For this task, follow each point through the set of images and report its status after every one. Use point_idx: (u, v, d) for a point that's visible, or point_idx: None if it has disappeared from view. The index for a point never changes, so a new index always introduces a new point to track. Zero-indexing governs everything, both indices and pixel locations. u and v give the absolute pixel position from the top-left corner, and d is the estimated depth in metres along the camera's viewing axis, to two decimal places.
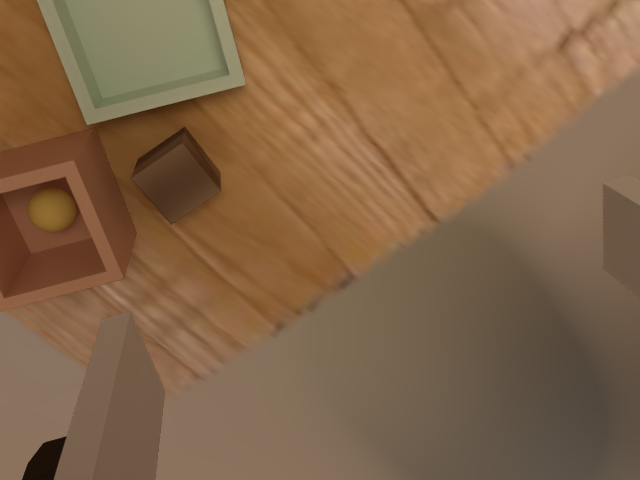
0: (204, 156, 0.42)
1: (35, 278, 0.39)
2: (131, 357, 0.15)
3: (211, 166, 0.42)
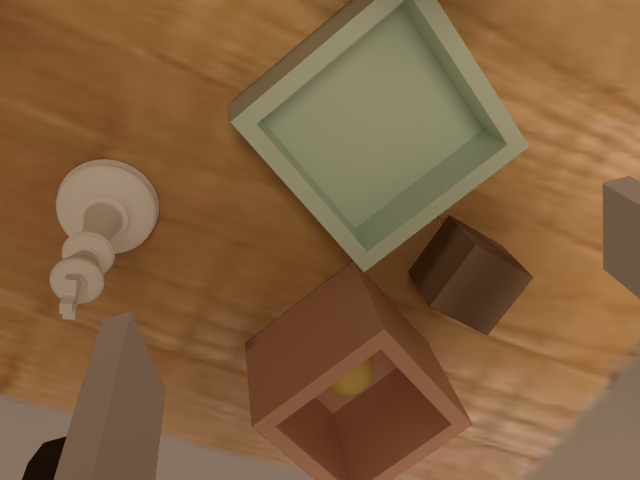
0: (486, 239, 0.34)
1: (367, 452, 0.34)
2: (131, 357, 0.15)
3: (497, 247, 0.34)
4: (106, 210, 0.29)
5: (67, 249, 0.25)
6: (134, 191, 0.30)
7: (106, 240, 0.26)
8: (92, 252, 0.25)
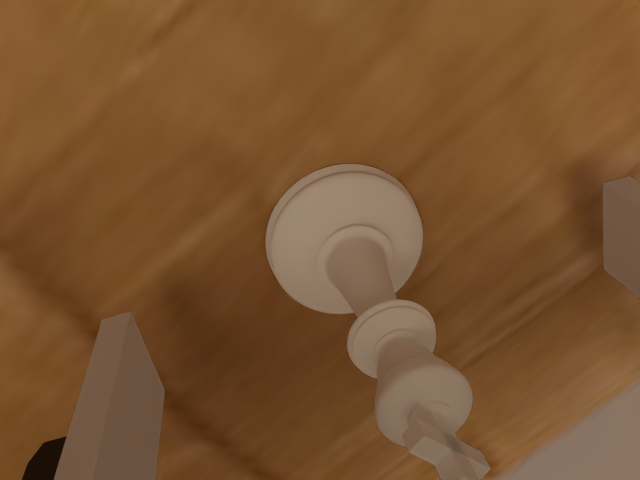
0: None
1: None
2: (131, 357, 0.15)
3: None
4: (344, 257, 0.17)
5: (365, 365, 0.14)
6: (341, 196, 0.18)
7: (386, 303, 0.14)
8: (392, 339, 0.14)
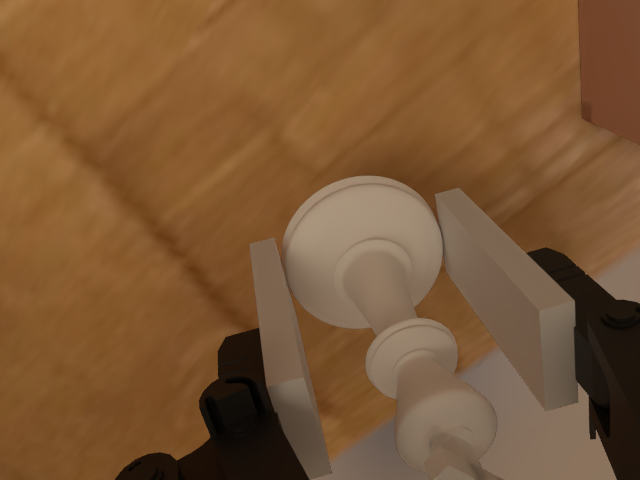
0: None
1: None
2: (283, 273, 0.17)
3: None
4: (362, 271, 0.16)
5: (384, 385, 0.14)
6: (359, 209, 0.17)
7: (407, 322, 0.13)
8: (412, 359, 0.13)
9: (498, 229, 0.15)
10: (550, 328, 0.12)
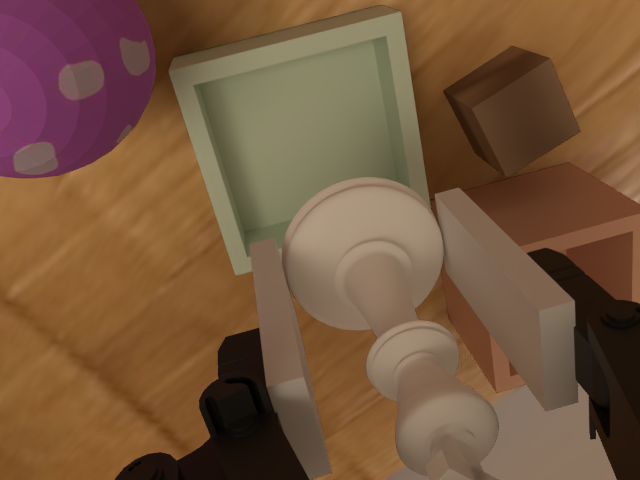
0: (488, 69, 0.30)
1: None
2: (283, 273, 0.17)
3: (504, 61, 0.30)
4: (363, 273, 0.16)
5: (385, 388, 0.14)
6: (360, 210, 0.17)
7: (408, 324, 0.13)
8: (413, 362, 0.13)
9: (498, 229, 0.15)
10: (550, 328, 0.12)
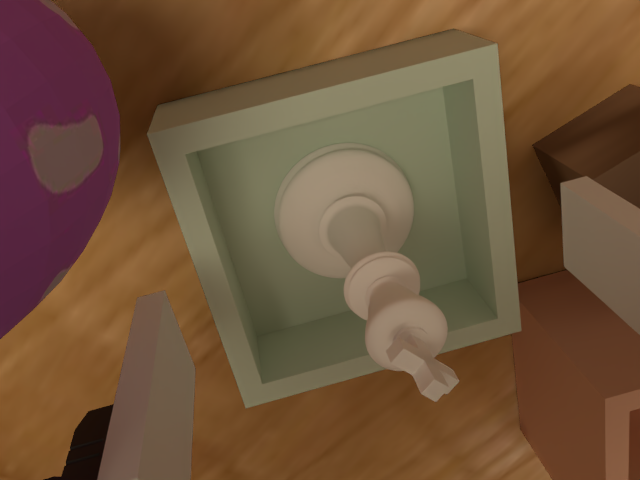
0: (601, 118, 0.21)
1: None
2: (167, 333, 0.15)
3: (624, 107, 0.21)
4: (343, 222, 0.19)
5: (359, 308, 0.17)
6: (341, 170, 0.20)
7: (377, 254, 0.16)
8: (381, 283, 0.16)
9: None
10: None
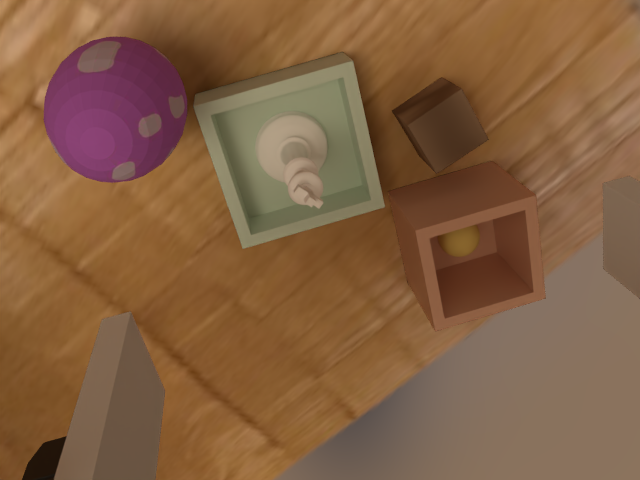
0: (423, 95, 0.41)
1: (520, 262, 0.43)
2: (131, 357, 0.15)
3: (434, 89, 0.41)
4: (287, 149, 0.39)
5: None
6: (287, 124, 0.40)
7: (297, 158, 0.36)
8: (298, 170, 0.36)
9: None
10: None
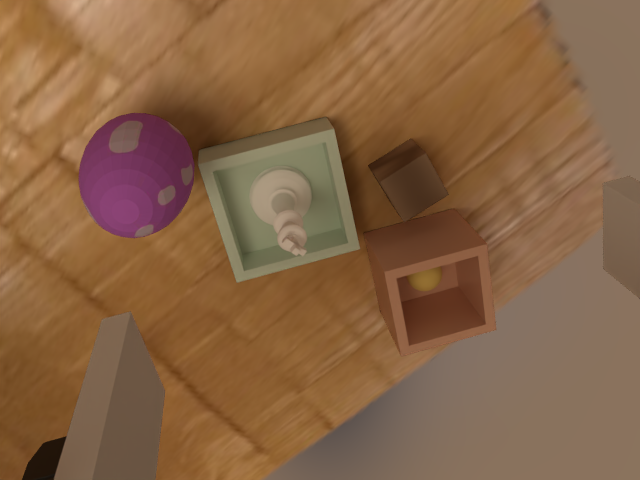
0: (394, 154, 0.48)
1: (475, 297, 0.50)
2: (131, 357, 0.15)
3: (404, 149, 0.48)
4: (277, 199, 0.46)
5: (279, 231, 0.43)
6: (277, 177, 0.47)
7: (285, 211, 0.43)
8: (286, 221, 0.43)
9: None
10: None
